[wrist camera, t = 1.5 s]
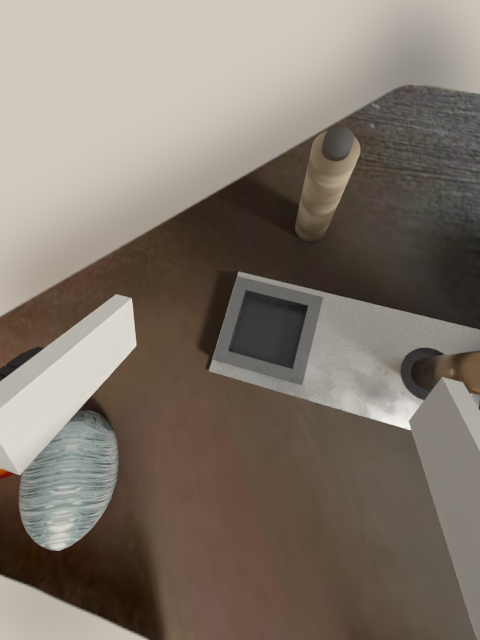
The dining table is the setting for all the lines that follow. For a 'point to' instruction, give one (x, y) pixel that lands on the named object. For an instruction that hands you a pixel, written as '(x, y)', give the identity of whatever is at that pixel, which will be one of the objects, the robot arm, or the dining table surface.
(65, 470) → the spool
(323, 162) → the birch leg peg
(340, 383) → the bolt plate
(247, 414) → the dining table surface
